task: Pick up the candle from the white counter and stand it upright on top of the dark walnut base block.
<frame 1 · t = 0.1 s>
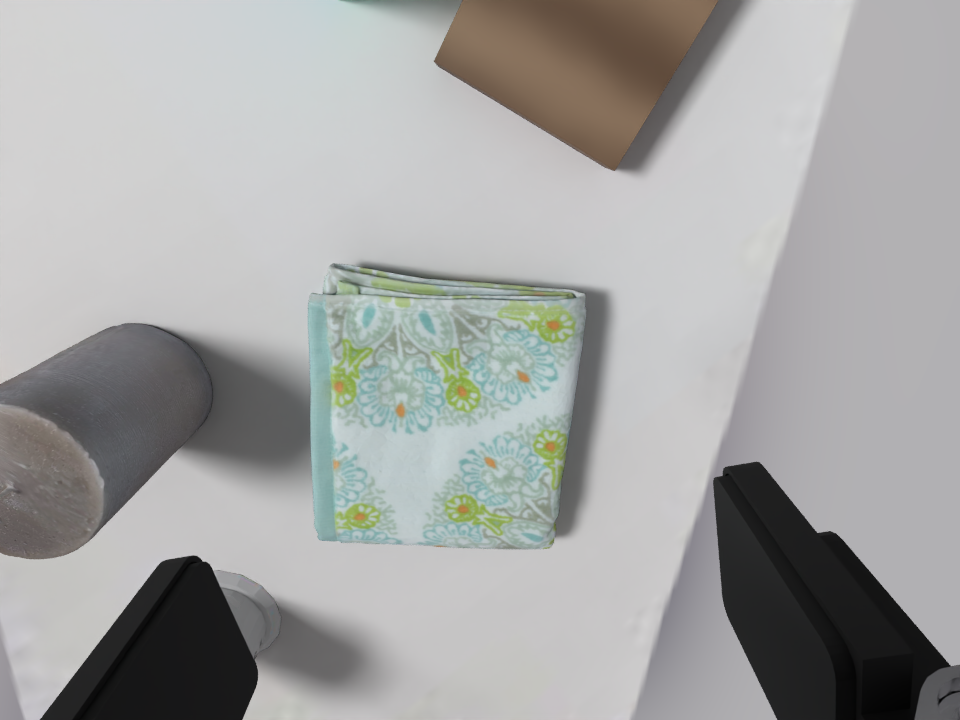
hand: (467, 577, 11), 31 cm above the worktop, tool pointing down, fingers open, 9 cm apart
towel: (446, 403, 45), on the worktop
pillar candle: (151, 381, 44), on the worktop
french press: (217, 616, 52), on the worktop
walnut base: (576, 22, 35), on the worktop
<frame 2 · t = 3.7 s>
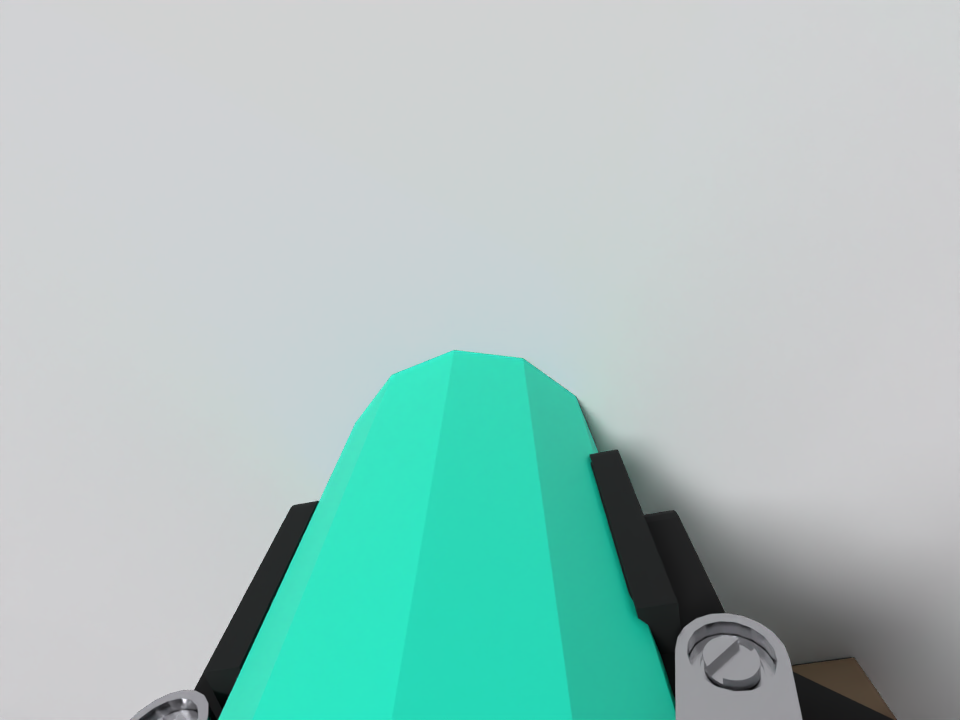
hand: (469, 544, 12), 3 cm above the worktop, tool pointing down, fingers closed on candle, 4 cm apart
candle: (473, 460, 15), on the worktop, touching gripper
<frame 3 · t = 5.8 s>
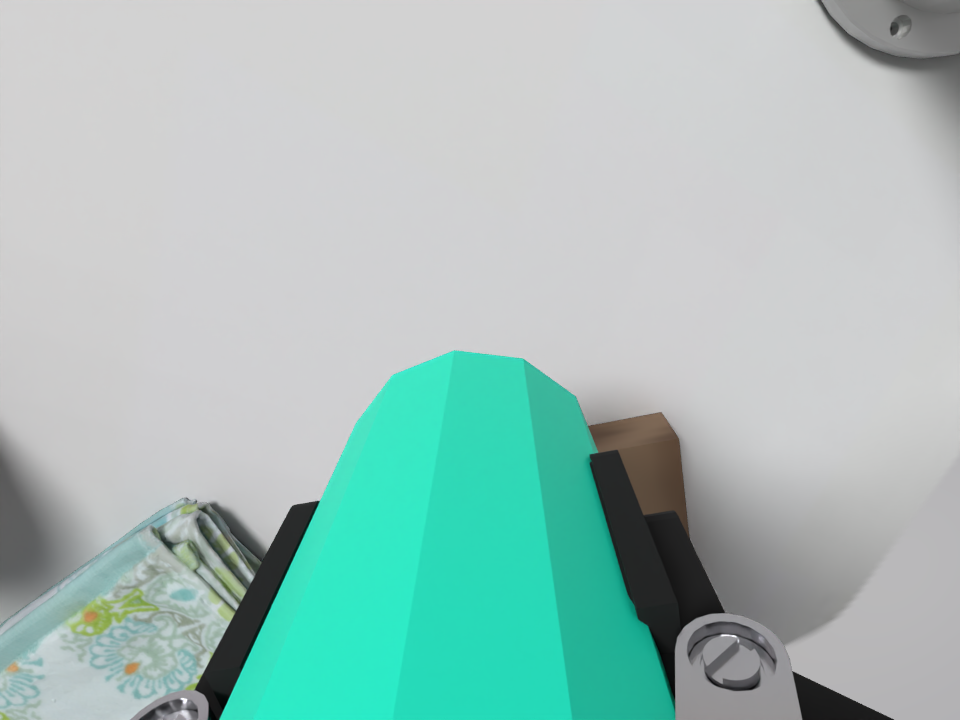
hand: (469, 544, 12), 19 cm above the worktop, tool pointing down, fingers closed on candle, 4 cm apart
candle: (474, 460, 15), point 16 cm above the worktop, touching gripper
towel: (186, 650, 39), on the worktop
walnut base: (568, 523, 34), on the worktop
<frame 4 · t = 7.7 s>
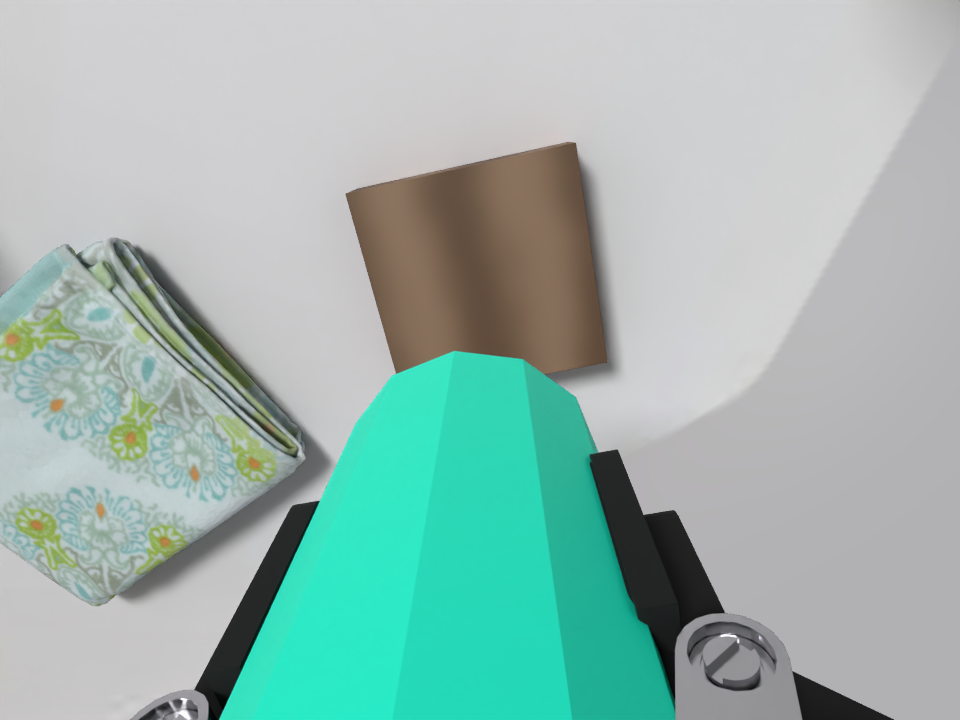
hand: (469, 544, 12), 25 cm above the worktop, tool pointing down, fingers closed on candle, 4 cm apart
candle: (473, 461, 15), point 22 cm above the worktop, touching gripper
towel: (121, 419, 40), on the worktop
walnut base: (483, 270, 35), on the worktop
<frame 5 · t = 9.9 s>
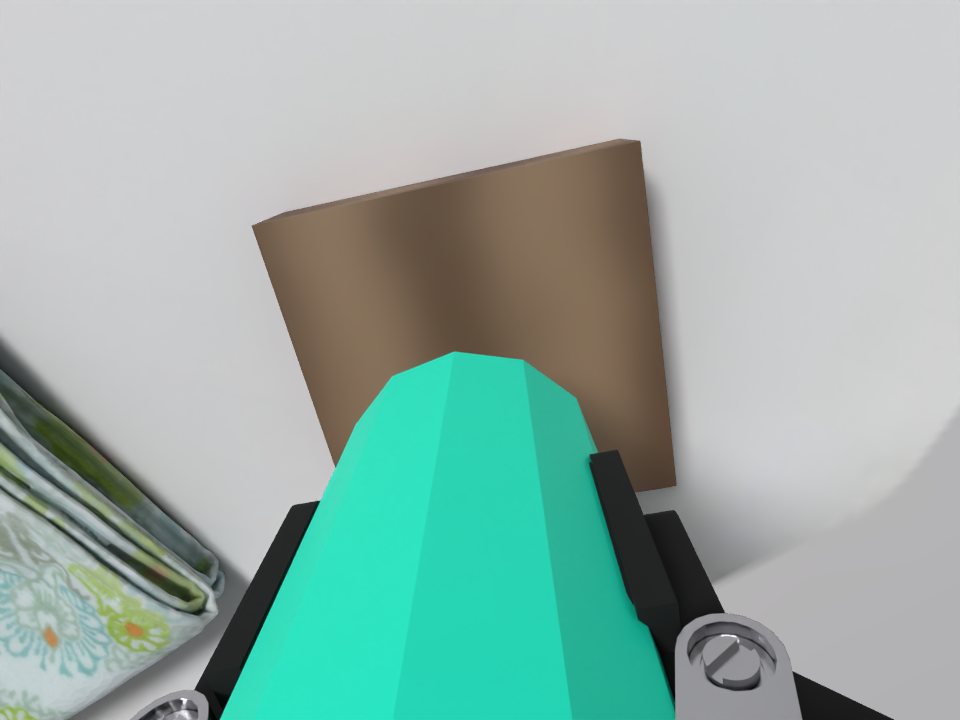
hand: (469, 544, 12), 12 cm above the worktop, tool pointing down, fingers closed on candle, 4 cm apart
candle: (474, 462, 15), point 9 cm above the worktop, touching gripper
walnut base: (482, 336, 23), on the worktop
when the fingers open (7 cm above the worktop, at t = 11.7 s): candle drops 1 cm, resting on walnut base.
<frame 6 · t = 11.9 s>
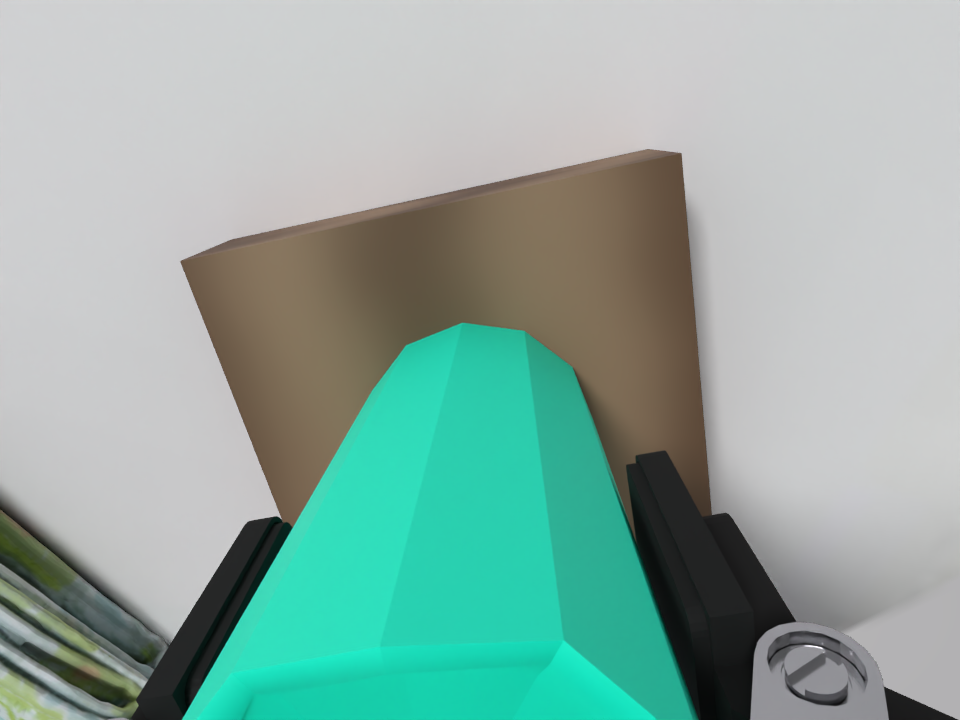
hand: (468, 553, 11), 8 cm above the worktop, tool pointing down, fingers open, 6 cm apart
candle: (479, 428, 16), point 3 cm above the worktop, touching walnut base
walnut base: (477, 388, 19), on the worktop
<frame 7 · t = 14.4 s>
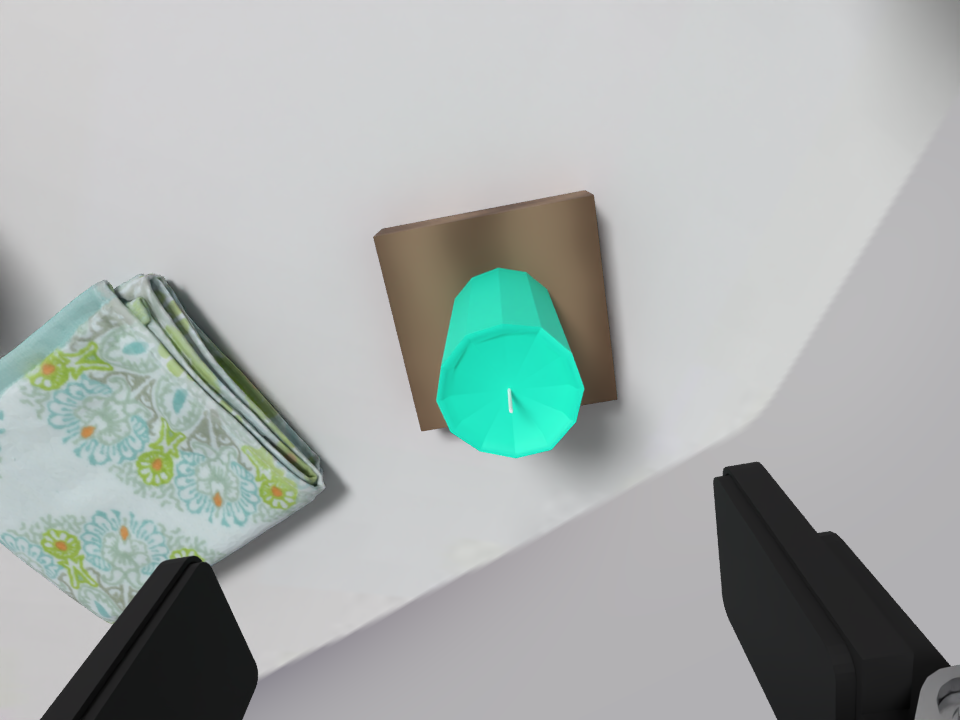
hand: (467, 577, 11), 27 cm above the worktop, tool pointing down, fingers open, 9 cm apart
candle: (503, 318, 34), point 3 cm above the worktop, touching walnut base
towel: (144, 443, 41), on the worktop
walnut base: (500, 307, 37), on the worktop
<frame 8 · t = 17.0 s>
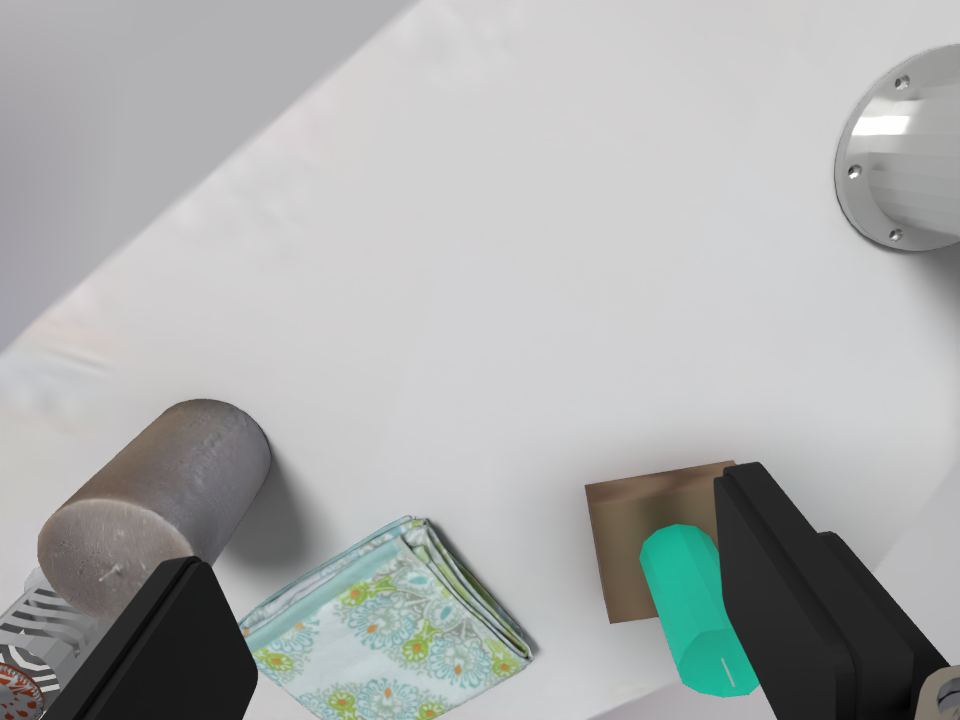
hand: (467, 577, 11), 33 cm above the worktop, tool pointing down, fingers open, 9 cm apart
candle: (676, 553, 48), point 3 cm above the worktop, touching walnut base
towel: (389, 619, 55), on the worktop
pillar candle: (216, 450, 49), on the worktop
french press: (69, 597, 54), on the worktop
walnut base: (665, 532, 50), on the worktop
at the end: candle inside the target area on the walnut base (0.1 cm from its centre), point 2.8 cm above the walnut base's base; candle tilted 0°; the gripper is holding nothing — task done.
